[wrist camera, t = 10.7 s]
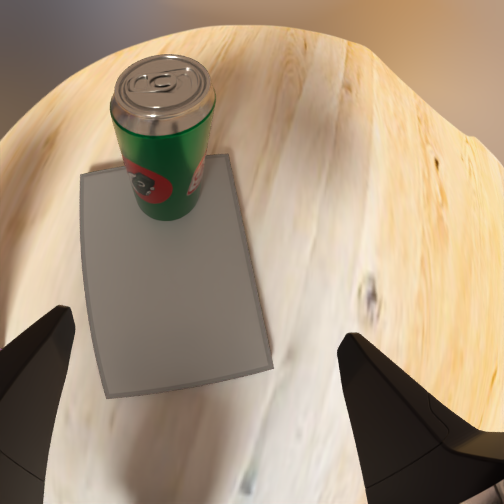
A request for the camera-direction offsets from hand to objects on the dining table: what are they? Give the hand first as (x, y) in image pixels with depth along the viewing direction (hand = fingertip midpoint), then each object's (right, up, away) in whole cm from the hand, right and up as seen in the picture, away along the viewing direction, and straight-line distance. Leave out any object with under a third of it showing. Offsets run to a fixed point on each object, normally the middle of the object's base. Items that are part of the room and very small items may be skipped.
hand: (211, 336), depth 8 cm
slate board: (-5, +1, +13) cm, 14 cm away
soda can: (-5, +7, +14) cm, 16 cm away
